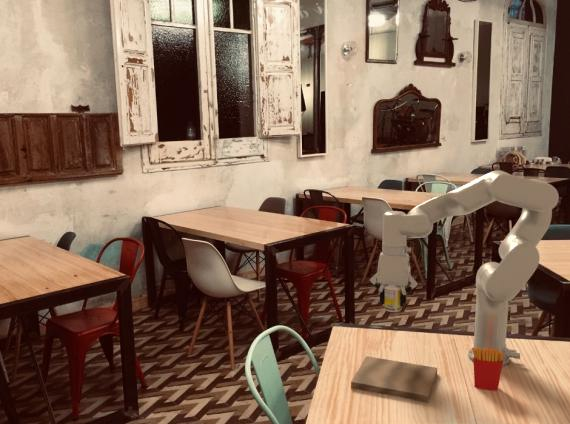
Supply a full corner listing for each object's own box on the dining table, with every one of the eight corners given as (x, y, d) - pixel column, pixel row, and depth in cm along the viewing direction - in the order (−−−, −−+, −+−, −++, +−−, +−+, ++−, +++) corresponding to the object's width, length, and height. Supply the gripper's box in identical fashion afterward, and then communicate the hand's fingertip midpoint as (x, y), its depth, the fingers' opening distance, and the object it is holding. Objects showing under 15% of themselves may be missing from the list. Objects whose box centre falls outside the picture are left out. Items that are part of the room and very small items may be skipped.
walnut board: (437, 373, 169) (437, 367, 169) (428, 402, 153) (428, 395, 153) (366, 361, 178) (366, 356, 177) (350, 388, 161) (351, 381, 161)
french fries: (500, 386, 162) (503, 347, 160) (501, 392, 158) (503, 353, 156) (470, 381, 165) (472, 343, 162) (469, 387, 161) (472, 348, 159)
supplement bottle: (398, 306, 184) (399, 276, 182) (403, 312, 178) (404, 281, 176) (381, 307, 183) (382, 277, 181) (386, 313, 178) (387, 282, 176)
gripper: (423, 249, 177) (421, 303, 180) (370, 245, 184) (369, 297, 187) (419, 255, 170) (417, 311, 174) (364, 250, 177) (364, 304, 180)
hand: (392, 303), depth 180 cm, fingers closed on supplement bottle, 5 cm apart
